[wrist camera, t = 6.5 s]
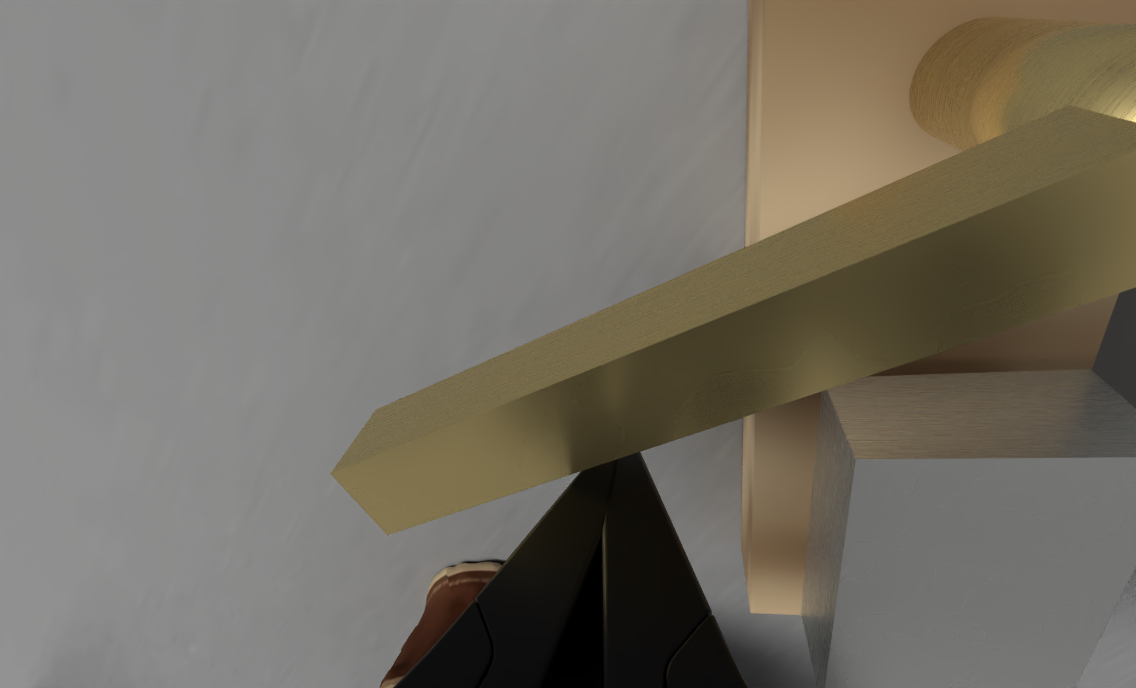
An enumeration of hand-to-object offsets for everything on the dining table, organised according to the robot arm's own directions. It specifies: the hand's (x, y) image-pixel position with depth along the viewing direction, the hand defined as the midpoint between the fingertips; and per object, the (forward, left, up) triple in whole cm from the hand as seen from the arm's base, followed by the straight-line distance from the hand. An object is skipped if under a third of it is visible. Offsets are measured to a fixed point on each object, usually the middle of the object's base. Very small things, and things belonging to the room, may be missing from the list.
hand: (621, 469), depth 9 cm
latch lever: (+2, -2, -5) cm, 6 cm away
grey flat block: (-5, -6, -4) cm, 9 cm away
